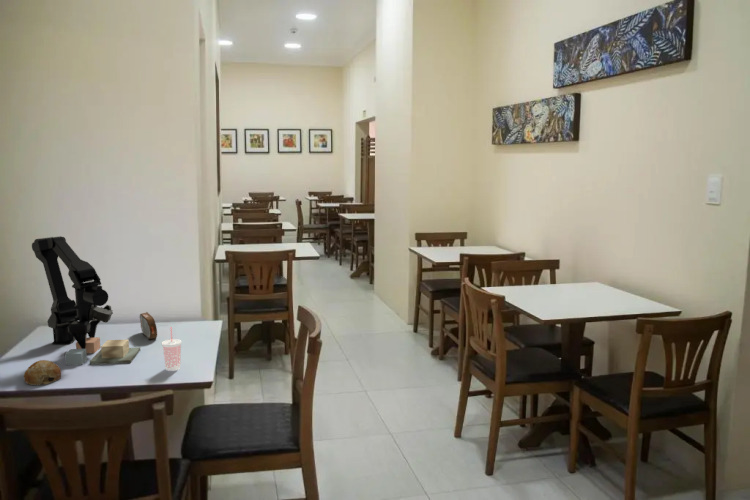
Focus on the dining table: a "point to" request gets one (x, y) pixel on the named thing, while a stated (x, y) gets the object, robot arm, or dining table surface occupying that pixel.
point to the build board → (114, 360)
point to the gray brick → (76, 356)
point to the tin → (148, 325)
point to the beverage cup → (172, 353)
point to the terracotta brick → (91, 345)
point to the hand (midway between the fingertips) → (88, 344)
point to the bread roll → (42, 373)
